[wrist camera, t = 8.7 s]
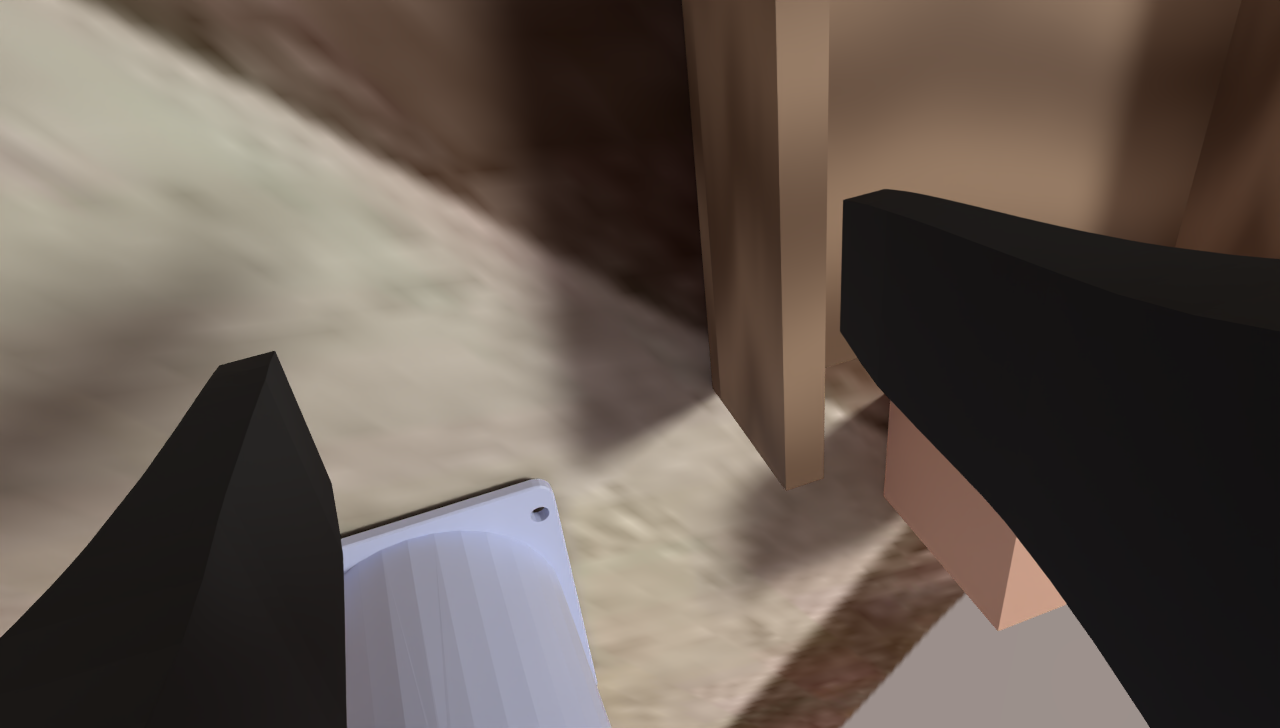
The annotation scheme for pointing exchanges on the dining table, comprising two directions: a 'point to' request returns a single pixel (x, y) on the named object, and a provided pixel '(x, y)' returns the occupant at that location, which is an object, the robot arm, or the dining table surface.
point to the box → (955, 153)
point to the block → (963, 529)
